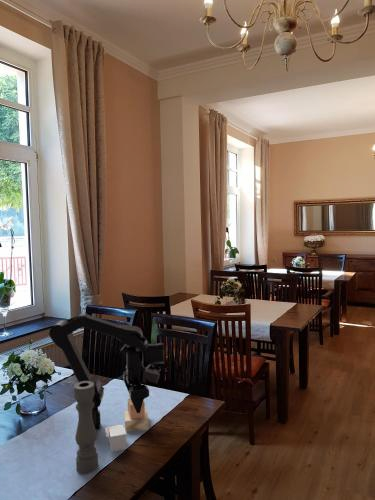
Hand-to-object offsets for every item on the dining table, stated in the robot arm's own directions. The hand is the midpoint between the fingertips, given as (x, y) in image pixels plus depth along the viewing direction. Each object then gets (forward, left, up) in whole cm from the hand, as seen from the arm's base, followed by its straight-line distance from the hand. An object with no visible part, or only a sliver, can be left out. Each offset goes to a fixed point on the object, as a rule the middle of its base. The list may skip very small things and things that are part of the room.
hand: (136, 406), depth 139 cm
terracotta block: (0, 0, -3) cm, 3 cm away
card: (-8, -2, -6) cm, 10 cm away
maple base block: (0, 0, -7) cm, 7 cm away
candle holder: (-18, -19, -7) cm, 27 cm away
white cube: (-8, -11, -7) cm, 15 cm away
